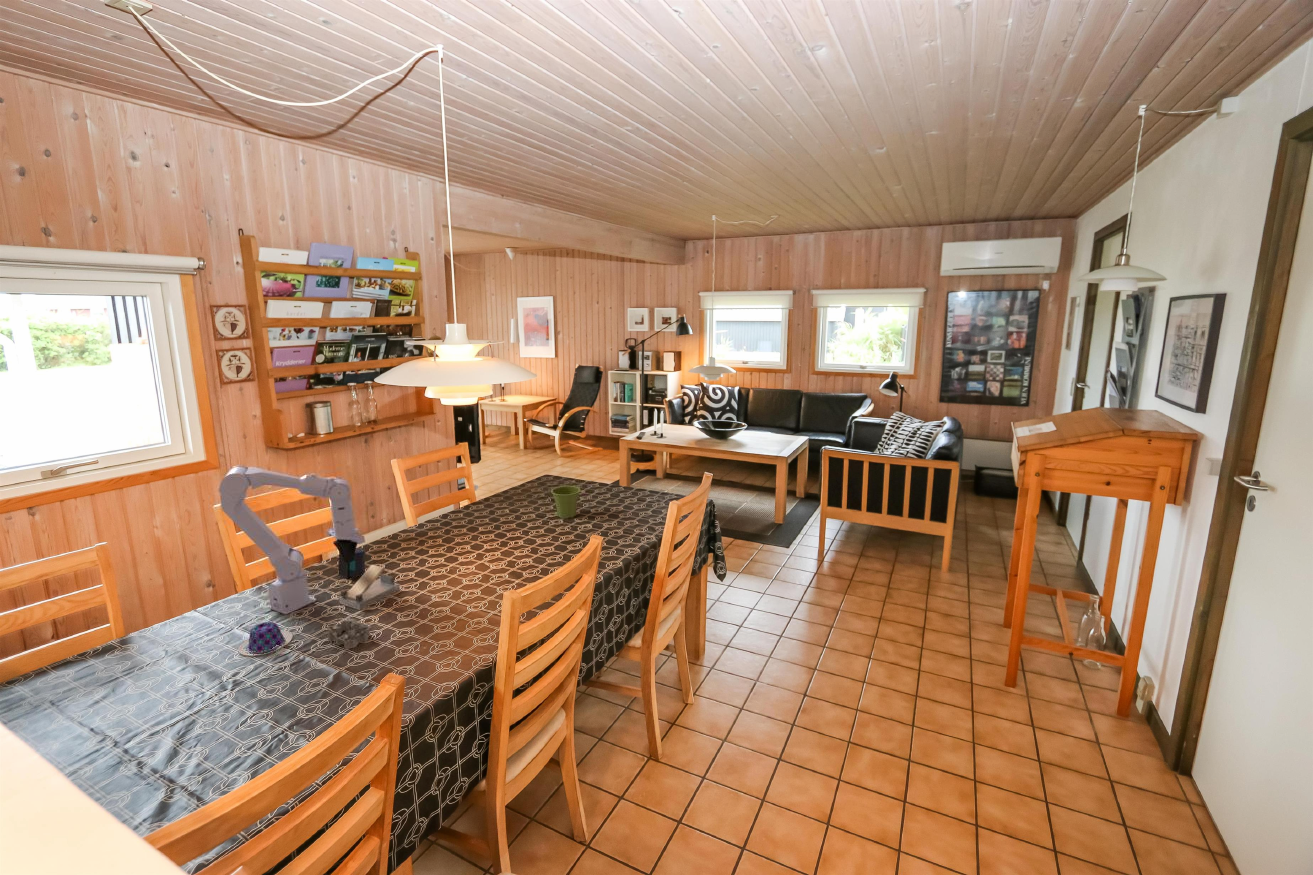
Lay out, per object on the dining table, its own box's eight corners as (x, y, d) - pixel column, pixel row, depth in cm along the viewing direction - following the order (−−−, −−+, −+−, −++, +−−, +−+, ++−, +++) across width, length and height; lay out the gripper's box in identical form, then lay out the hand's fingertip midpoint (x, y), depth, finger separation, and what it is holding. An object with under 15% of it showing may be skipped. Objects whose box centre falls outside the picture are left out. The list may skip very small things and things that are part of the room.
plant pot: (553, 511, 257) (552, 486, 255) (581, 510, 258) (580, 485, 256) (551, 521, 246) (550, 495, 243) (580, 520, 247) (580, 494, 244)
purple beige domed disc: (246, 637, 162) (243, 619, 161) (297, 629, 166) (294, 611, 165) (232, 662, 151) (229, 643, 150) (287, 652, 155) (284, 634, 154)
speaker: (340, 581, 193) (340, 549, 192) (338, 575, 198) (338, 544, 196) (366, 577, 197) (366, 546, 196) (363, 571, 202) (363, 541, 201)
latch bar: (357, 600, 177) (356, 599, 176) (346, 596, 179) (344, 595, 179) (384, 569, 184) (383, 567, 184) (373, 566, 186) (371, 564, 186)
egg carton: (324, 639, 161) (322, 625, 160) (350, 627, 167) (349, 613, 166) (347, 651, 155) (345, 637, 154) (374, 638, 162) (372, 624, 161)
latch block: (360, 610, 176) (358, 597, 175) (339, 603, 180) (338, 591, 179) (399, 590, 188) (398, 578, 187) (379, 584, 192) (378, 572, 191)
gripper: (371, 518, 181) (376, 560, 184) (339, 511, 187) (345, 552, 190) (350, 526, 175) (356, 570, 178) (318, 518, 181) (324, 560, 184)
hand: (349, 561), depth 184 cm, fingers closed
